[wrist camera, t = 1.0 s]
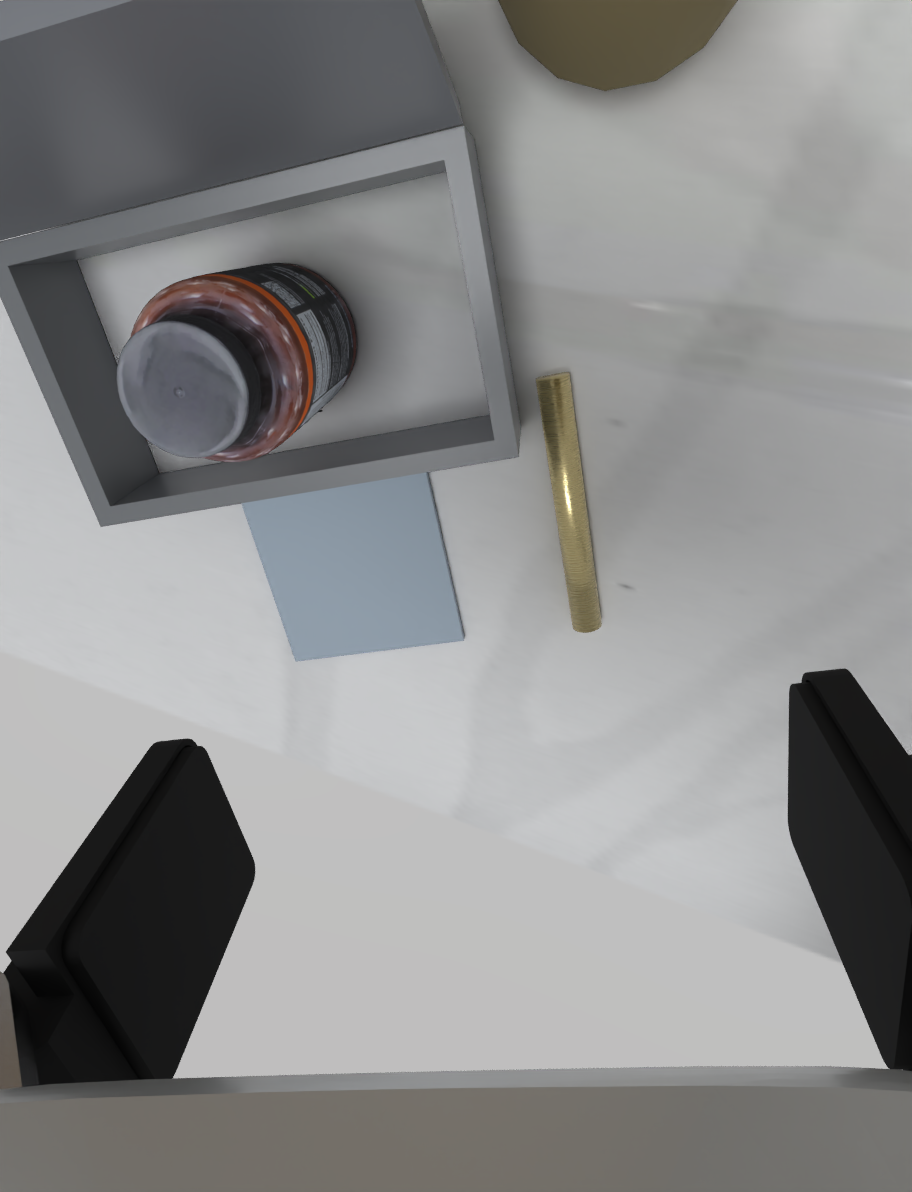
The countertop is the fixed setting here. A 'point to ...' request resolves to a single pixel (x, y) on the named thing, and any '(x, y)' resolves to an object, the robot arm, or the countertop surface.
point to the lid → (199, 95)
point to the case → (137, 491)
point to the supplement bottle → (235, 361)
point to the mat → (357, 567)
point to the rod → (569, 499)
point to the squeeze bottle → (613, 36)
